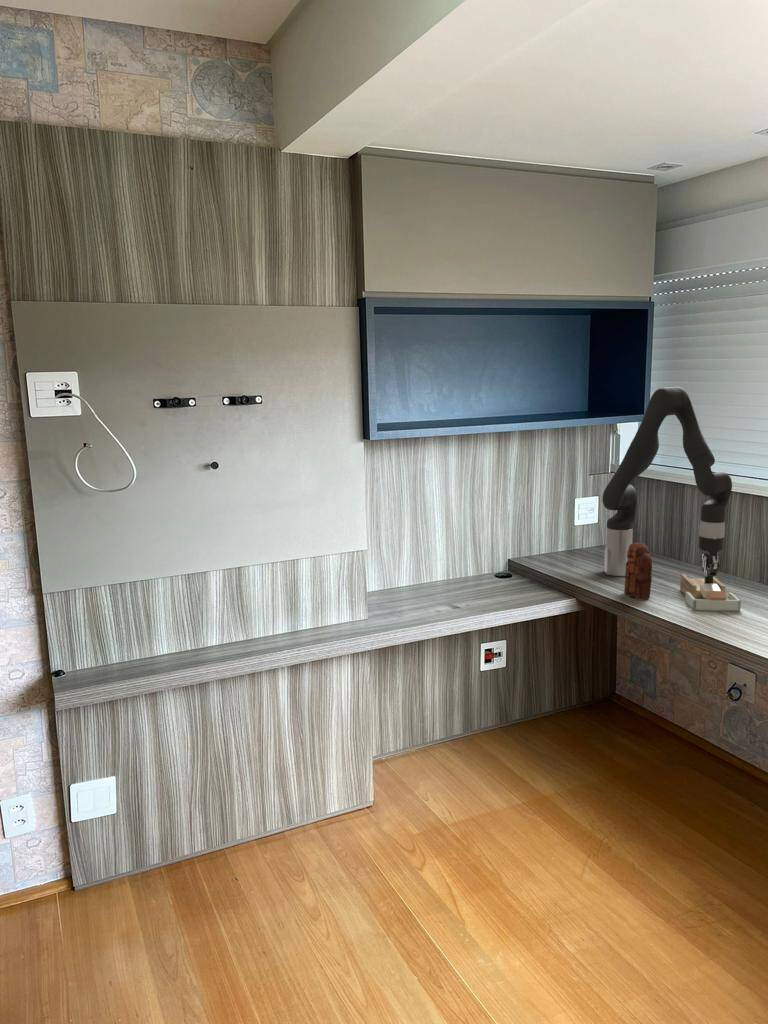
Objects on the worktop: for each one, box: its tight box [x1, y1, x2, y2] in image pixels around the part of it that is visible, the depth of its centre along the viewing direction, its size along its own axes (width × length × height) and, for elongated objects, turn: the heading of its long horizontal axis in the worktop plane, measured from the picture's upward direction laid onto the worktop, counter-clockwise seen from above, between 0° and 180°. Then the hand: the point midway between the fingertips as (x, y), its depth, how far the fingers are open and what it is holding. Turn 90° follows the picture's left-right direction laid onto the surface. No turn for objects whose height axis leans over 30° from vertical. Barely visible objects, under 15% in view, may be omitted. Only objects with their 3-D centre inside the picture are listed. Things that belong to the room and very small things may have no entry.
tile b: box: [705, 590, 728, 600], centre depth 241 cm, size 5×5×2 cm
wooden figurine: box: [623, 541, 653, 601], centre depth 256 cm, size 12×6×18 cm, turn 14°
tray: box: [685, 592, 742, 612], centre depth 243 cm, size 14×9×4 cm, turn 83°
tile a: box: [700, 584, 721, 598], centre depth 245 cm, size 5×5×2 cm
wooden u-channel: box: [679, 573, 726, 599], centre depth 255 cm, size 10×15×6 cm, turn 173°
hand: (708, 587), depth 248 cm, fingers closed
